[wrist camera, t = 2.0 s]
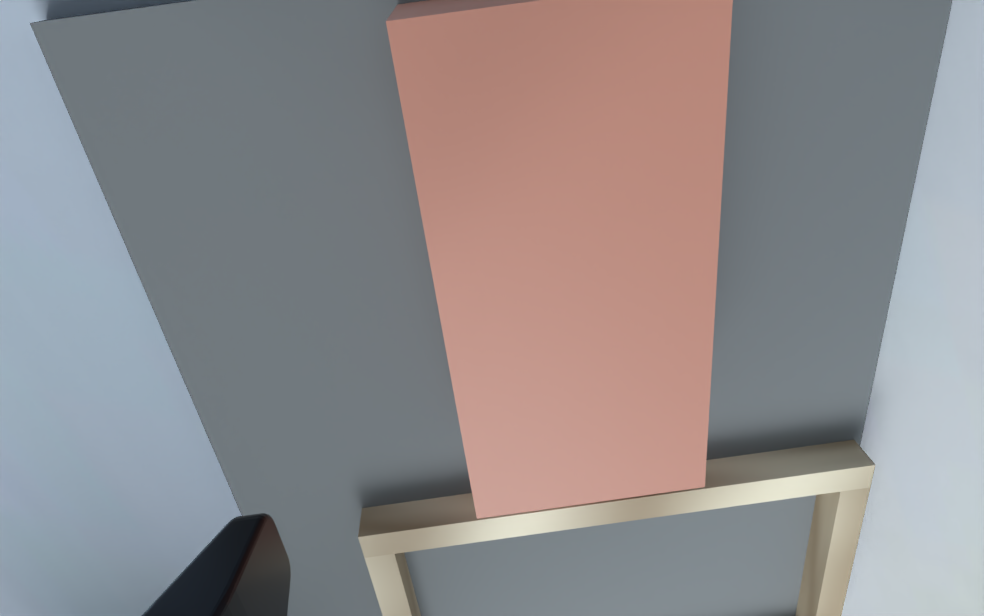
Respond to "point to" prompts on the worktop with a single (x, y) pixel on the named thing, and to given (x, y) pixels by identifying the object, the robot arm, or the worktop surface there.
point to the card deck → (571, 234)
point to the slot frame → (728, 482)
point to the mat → (412, 299)
